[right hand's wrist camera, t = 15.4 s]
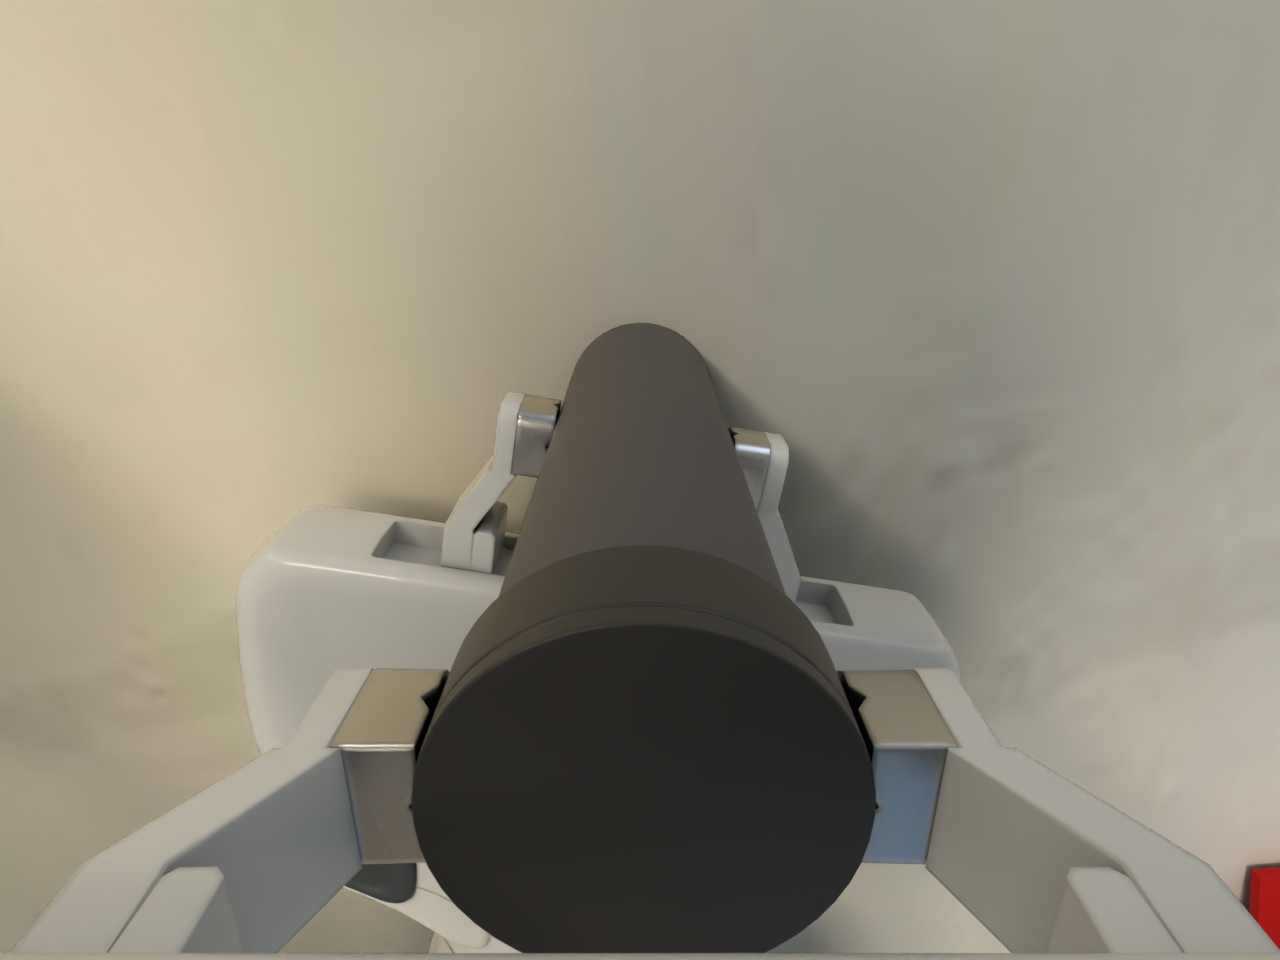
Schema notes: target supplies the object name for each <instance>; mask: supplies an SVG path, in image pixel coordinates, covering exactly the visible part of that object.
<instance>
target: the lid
mask: <svg viewBox="0 0 1280 960" xmlns="http://www.w3.org/2000/svg"><path fill="white" fill-rule="evenodd" d="M411 802H412V815H413V824H414V828H415V832H416V836H417V840H418V844H419V847H420V850H421V852H422V854H423V857H424V859H425V861H426V864H427V866H428V868H429V870H430V871H431V873H432V875H433V876H434V878H435V879H436V881H437V883H438V884H439V886H440V887H441V889H442V890H443V891H444V892H445V894H446V895H447V896H448V897H449V898H450V900H451V901H452V902H453V903H454V904H455V906H456V907H457V908H458V909H460V910H461V911H462V912H463V913H464V914H465V915H466V916H467V917H468V918H469V919H470V920H471V921H473V922H474V923H475V924H476V925H478V926H479V927H480V928H482V929H483V930H484V931H486V932H487V933H489V934H490V935H491V936H493V937H494V938H496V939H497V940H499V941H501V942H503V943H505V944H506V945H508V946H510V947H512V948H513V949H515V950H517V951H519V952H521V953H765V952H767V951H769V950H771V949H773V948H775V947H777V946H779V945H780V944H782V943H784V942H785V941H787V940H789V939H790V938H792V937H794V936H795V935H797V934H798V933H800V932H801V931H802V930H804V929H805V928H806V927H807V926H809V925H810V924H811V923H813V922H814V921H815V920H817V919H818V918H819V917H820V916H821V915H822V914H823V913H824V912H825V911H826V910H827V909H828V908H829V907H830V906H831V905H832V904H833V903H834V902H835V901H836V900H837V898H838V897H839V896H840V894H841V893H842V892H843V891H844V889H845V888H846V887H847V886H848V884H849V883H850V881H851V880H852V878H853V876H854V874H855V873H856V871H857V869H858V867H859V866H860V864H861V862H862V860H863V857H864V854H865V852H866V849H867V847H868V844H869V842H870V838H871V833H872V828H873V824H874V819H875V805H876V788H875V781H874V773H873V767H872V764H871V761H870V758H869V754H868V751H867V748H866V745H865V742H864V740H863V737H862V735H861V732H860V730H859V728H858V726H857V722H856V720H855V717H854V715H853V712H852V710H851V707H850V705H849V702H848V700H847V697H846V695H845V692H844V689H843V687H842V684H841V682H840V679H839V677H838V674H837V672H836V669H835V667H834V664H833V662H832V659H831V657H830V654H829V652H828V650H827V648H826V646H825V644H824V642H823V640H822V638H821V636H820V634H819V633H818V632H817V630H816V629H815V627H814V626H813V625H812V623H811V622H810V620H809V619H808V617H807V616H806V615H805V614H804V613H803V612H802V611H801V610H800V609H799V608H798V607H797V605H796V604H795V603H794V602H793V601H792V600H791V599H790V598H789V597H787V596H786V595H785V594H784V593H782V592H781V591H780V590H779V589H777V588H776V587H775V586H773V585H772V584H771V583H770V582H768V581H766V580H765V579H763V578H761V577H760V576H758V575H756V574H754V573H753V572H751V571H749V570H748V569H746V568H743V567H741V566H739V565H736V564H734V563H732V562H729V561H727V560H725V559H722V558H720V557H716V556H713V555H709V554H706V553H702V552H699V551H695V550H690V549H683V548H677V547H671V546H658V545H629V546H616V547H608V548H603V549H598V550H593V551H588V552H583V553H580V554H577V555H574V556H571V557H568V558H565V559H562V560H559V561H557V562H555V563H552V564H550V565H548V566H546V567H544V568H542V569H540V570H537V571H535V572H533V573H532V574H530V575H529V576H527V577H525V578H524V579H522V580H521V581H519V582H518V583H516V584H514V585H513V586H511V587H510V588H509V589H508V590H507V591H505V592H504V593H503V594H502V595H501V596H500V597H498V598H497V599H496V600H495V601H494V602H492V604H491V605H490V606H489V607H488V608H487V609H486V610H485V611H484V613H483V614H482V615H481V616H480V617H479V618H478V619H477V620H476V622H475V623H474V625H473V626H472V628H471V629H470V631H469V633H468V634H467V636H466V637H465V639H464V640H463V643H462V645H461V647H460V649H459V651H458V654H457V656H456V658H455V660H454V663H453V665H452V668H451V671H450V673H449V676H448V679H447V681H446V684H445V686H444V689H443V692H442V694H441V697H440V700H439V702H438V705H437V707H436V710H435V713H434V715H433V718H432V721H431V723H430V726H429V728H428V732H427V734H426V736H425V739H424V742H423V744H422V747H421V749H420V752H419V756H418V760H417V763H416V767H415V771H414V775H413V784H412V796H411Z"/></svg>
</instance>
